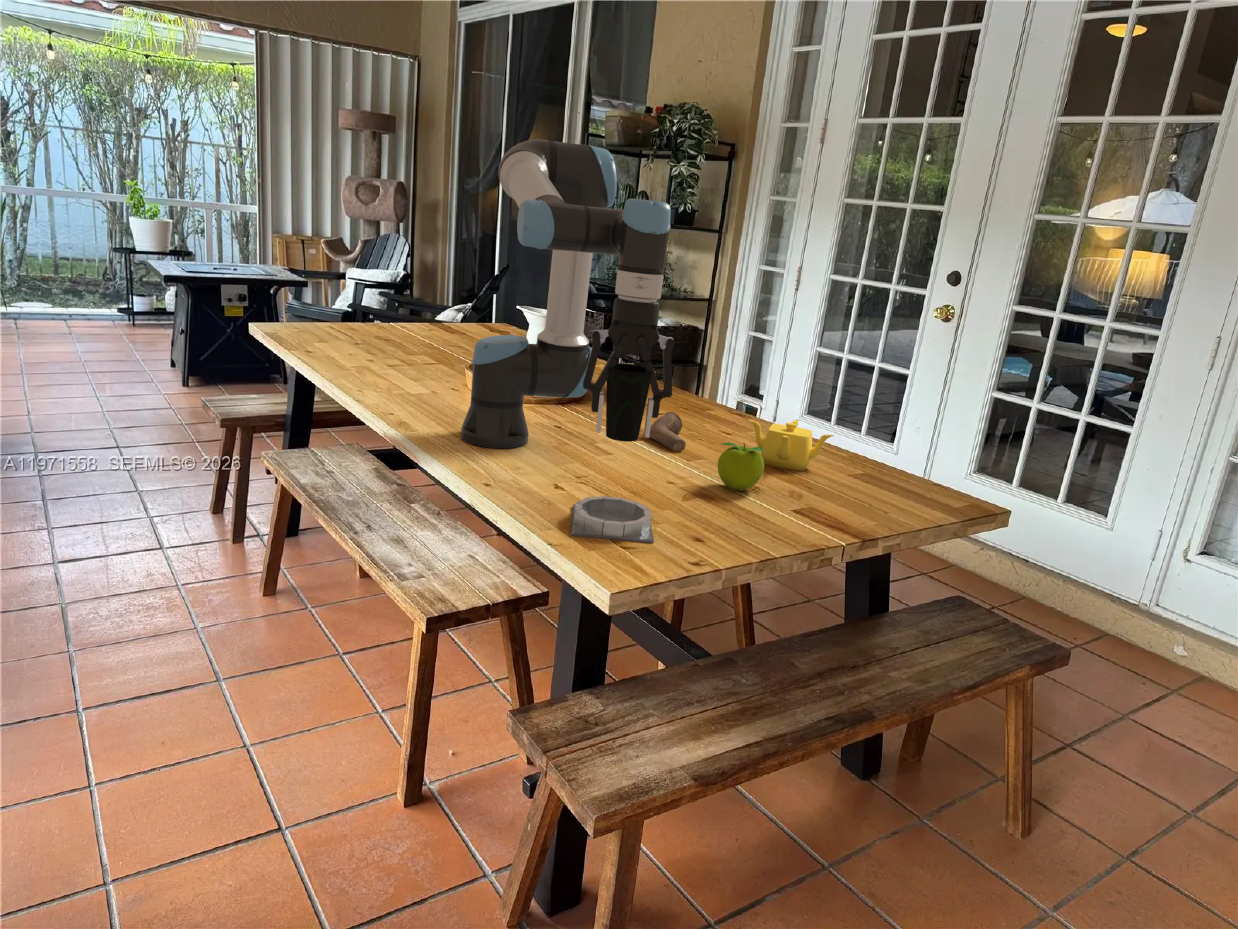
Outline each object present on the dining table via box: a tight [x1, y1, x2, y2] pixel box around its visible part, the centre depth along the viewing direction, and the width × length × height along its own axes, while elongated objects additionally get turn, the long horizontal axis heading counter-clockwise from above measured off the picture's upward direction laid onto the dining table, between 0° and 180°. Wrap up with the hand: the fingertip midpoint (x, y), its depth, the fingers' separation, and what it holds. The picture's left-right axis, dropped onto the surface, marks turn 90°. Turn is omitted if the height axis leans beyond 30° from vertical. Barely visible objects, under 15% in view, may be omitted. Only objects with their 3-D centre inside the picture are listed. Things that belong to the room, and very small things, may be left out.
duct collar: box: [570, 495, 655, 544], centre depth 148 cm, size 14×14×3 cm
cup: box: [605, 362, 652, 443], centre depth 142 cm, size 8×8×12 cm
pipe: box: [649, 411, 687, 452], centre depth 205 cm, size 6×17×10 cm
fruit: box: [717, 442, 765, 492], centre depth 174 cm, size 9×9×10 cm
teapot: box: [748, 419, 835, 472], centre depth 197 cm, size 15×14×10 cm
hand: (622, 432), depth 144 cm, fingers closed on cup, 8 cm apart
